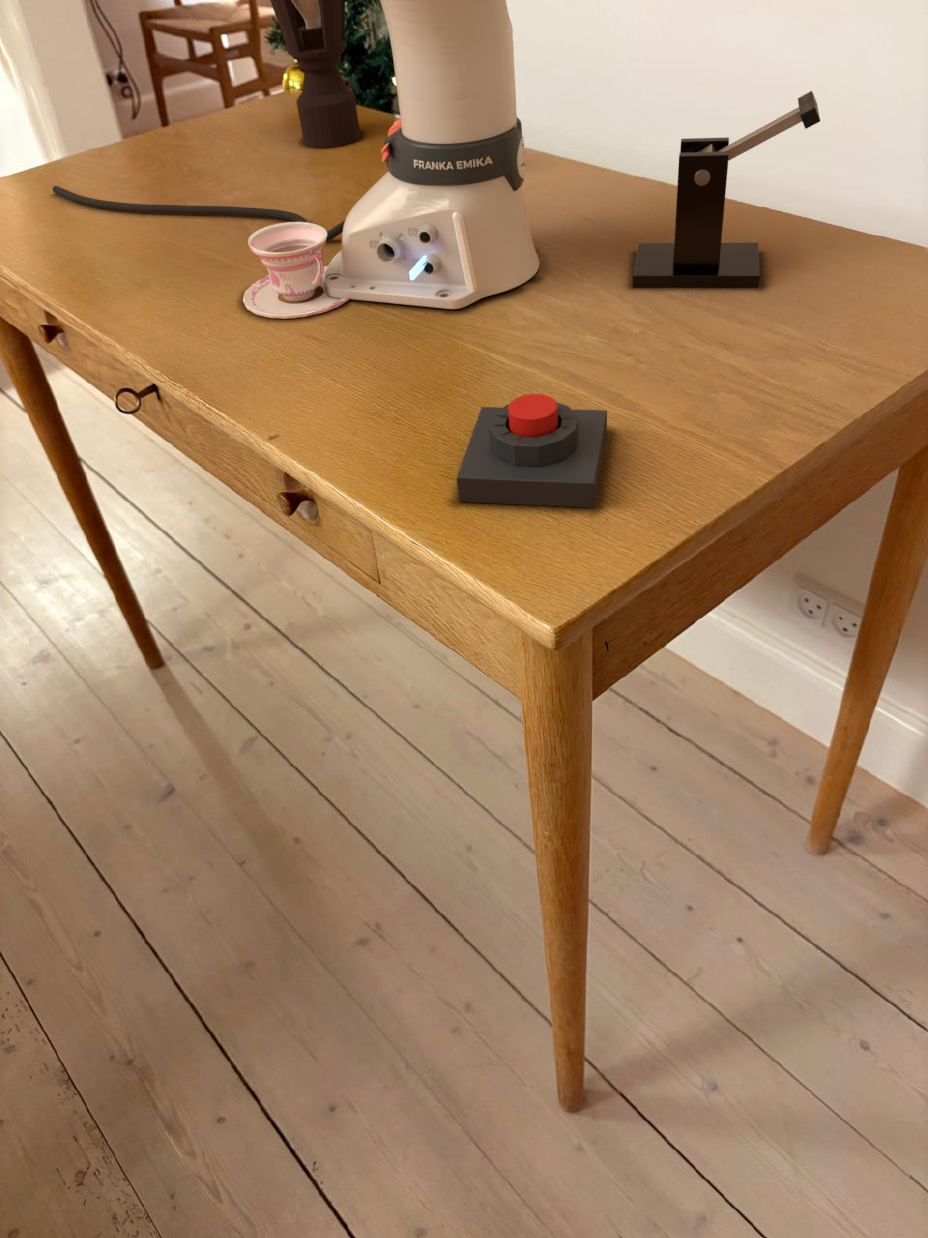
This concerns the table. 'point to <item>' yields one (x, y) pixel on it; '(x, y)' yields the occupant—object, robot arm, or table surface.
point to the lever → (774, 127)
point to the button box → (534, 461)
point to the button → (533, 415)
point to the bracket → (699, 230)
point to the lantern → (319, 69)
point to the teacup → (289, 271)
